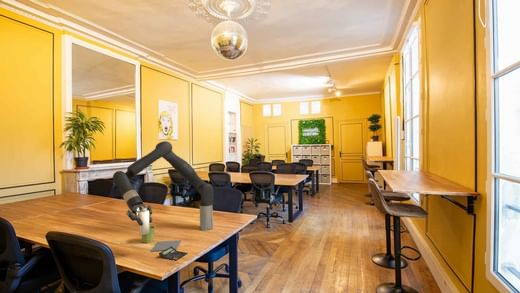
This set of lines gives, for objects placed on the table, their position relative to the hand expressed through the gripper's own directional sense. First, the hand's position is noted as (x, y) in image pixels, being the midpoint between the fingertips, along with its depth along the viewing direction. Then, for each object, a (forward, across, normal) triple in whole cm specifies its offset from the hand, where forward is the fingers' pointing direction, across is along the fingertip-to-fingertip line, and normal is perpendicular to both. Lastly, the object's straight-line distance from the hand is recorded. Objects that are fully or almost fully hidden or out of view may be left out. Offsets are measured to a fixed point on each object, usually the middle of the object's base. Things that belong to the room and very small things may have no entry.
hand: (146, 223), depth 133 cm
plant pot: (0, +14, +26) cm, 29 cm away
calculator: (+22, +7, +4) cm, 24 cm away
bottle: (+3, 0, +5) cm, 6 cm away
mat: (+12, +14, +14) cm, 23 cm away
